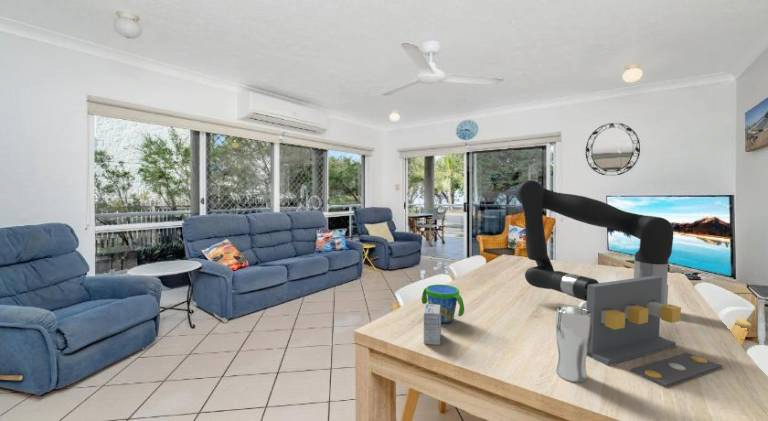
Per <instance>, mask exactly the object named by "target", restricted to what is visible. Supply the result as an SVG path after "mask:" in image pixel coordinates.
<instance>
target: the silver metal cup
mask: <svg viewBox="0 0 768 421" xmlns="http://www.w3.org/2000/svg"><path fill="white" fill-rule="evenodd" d="M556 309H557V310H556V316H555V317H556V318H555V337H556V343H557V350H558V362H557V366H556V371H555V372H556V374H557V375H558V377H560V378H561V379H563V380H565V381H568V382H571V383H577V384H578V383H579V384H580V383H585V382H587V380H588V374H587V367H586V366H587V365H586V364H587V363H586V361H587V357H588V356H587V353H588V349H589V345H590V340H591V331H592V326H591V312H590V311H589V310H587V309H584V308H581V307H578V306H577V305H571V304H570V305H568V304H565V305H564V304H563V305H558V306H557V308H556Z"/></svg>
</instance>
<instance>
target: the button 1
mask: <svg viewBox="0 0 768 421" xmlns="http://www.w3.org/2000/svg"><path fill="white" fill-rule="evenodd" d="M577 307H581V308H584V309H587V301H584V300H581V302H580V303H579V304H578V306H577ZM601 323H603V324H605V326H607V327H609V328H612V329H615V330H616V329H620V328H625V313H624V312H620V311H617V310H609V309H603V310H601Z"/></svg>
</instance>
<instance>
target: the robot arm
mask: <svg viewBox="0 0 768 421" xmlns="http://www.w3.org/2000/svg"><path fill="white" fill-rule="evenodd" d="M515 198H516V200H517V201H518V202H519V203H520V204H521V206H522V210H523V214H524V223H525V224H524V225H525V226H524V227H525V229H524V231H525V232H524V235H525V236H524V240H525V248H526V255H527V259H529V260H531V261H535V263H536V266H532V267H529V268H527V269H526V270H525V273H524V278H525V280H526V282H527V283H528V284H529V285H531V286H532V287H535V288H539V289H546V290H553V291H556V292H559V293H562V294H566V295H567V296H570V297H573V298H576V299H578V300H580V301H586V302H587V285H590V284H597V283H600V282H599V281H598V280H597V279H595V278H591V277H588V276H587V277H586V276H583V275H579V274H574V273H568V272H564V271H561V270H560V271H559V270H555V269H554V266H553V264H552V262H551V260H550V258H549V255H548V248H547V242H546V234H545V233H546V232H545V226H544V218H543V217H544V216H543V210H546V211H547V210H548V211H551V212H553V213H556V214H559V215H560V216H563V217H564V216H565V217H566V218H568V219H572V220H575V221H578V222H580V223H584V224H586V225H587V224H588V225H591V226H595V227H601V228H604V229H605V228H606V229H612V230H616V231H619V232H621V233H624V234H627V235H630V236H632V237H635V238H637V239H639V248H638V251H635V254H634V264H633V265H634V267H633V268H634V269H633V278H640V277H648V276H658V277H662V288H661V304H665V305H668V298H669V284H668V272H669V259H670V258H671V255H672V253H673V252H672V251H673V243H674V227H673V225H672V223H671V222H670V221H669V220H668V219H666V218H663V217H660V216H652V215H644V214H637V213H634V212H628V211H624V210H622V209H619V208H618V207H615V206H614V205H610V204H609V203H606V202H604V201H601V200H598V199H595V198H591V197H588V196H583V195H577V194H571V193H563V192H558V191H553V190H550V189H547V188H545V187H543V186H542V184H540V182H538V181H536V180H532V179H529V180H526V181H524V182H522V183H520V184H519V185H518V186H517V188H516V190H515Z"/></svg>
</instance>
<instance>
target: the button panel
mask: <svg viewBox="0 0 768 421" xmlns="http://www.w3.org/2000/svg"><path fill="white" fill-rule="evenodd" d="M661 288H662V277H658V276H648V277H640V278H634V277H632V278H627V279H620V280H613V281H606V282H605V281H604V282H599V283H597V284H590V285H587V301H586V302H587V310H589V311H590V312H591V326H592V331H591V340H590V345H589V349H588V353H587V357H588V358H591V359H593V360H595V361H597V362H600V363H601V364H604V365H605V366H608V367H609V366H613V365H615V364H619V363H622V362H626V361H630V360H634V359H636V358H641V357H644V356H647V355H651V354H655V353H658V352H662V351H666V350H669V349H673V348H676V347H677V343H676V341H673V340H670V339H667V338H664V337H662V336H661V337H660V325H661V324H660V323H661V322H660V321H661V318H659V317H656V316H653V315H649V314H648V322H647V323H643V324H636V323H633V322H630V321H628V319H626V318H625V328H620V329H616V330H615V329H612V328H609V327H607V326H605V324H603V323H601V310H603V309H609V310H617V311H620V312H624V310H625V305H633V306H641V307H645V308H646V302H647V301H654V302H658V303H661Z"/></svg>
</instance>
